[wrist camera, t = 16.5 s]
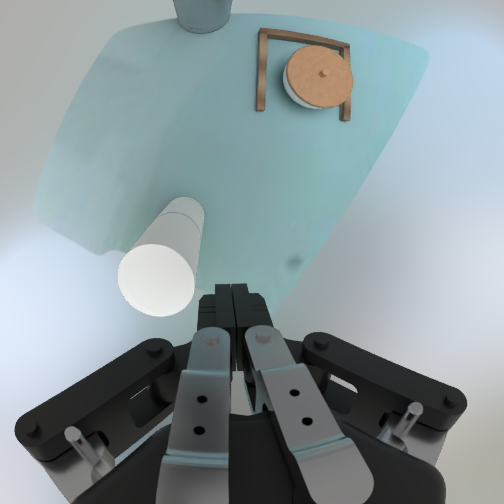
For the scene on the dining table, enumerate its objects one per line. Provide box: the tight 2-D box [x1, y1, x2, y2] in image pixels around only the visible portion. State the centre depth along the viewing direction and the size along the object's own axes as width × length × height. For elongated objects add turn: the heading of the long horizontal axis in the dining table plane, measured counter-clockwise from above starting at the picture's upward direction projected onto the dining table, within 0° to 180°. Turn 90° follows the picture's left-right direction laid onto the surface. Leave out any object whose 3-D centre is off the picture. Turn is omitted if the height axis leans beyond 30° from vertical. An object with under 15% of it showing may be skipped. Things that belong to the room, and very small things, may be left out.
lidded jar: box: [283, 45, 353, 109], centre depth 36 cm, size 11×11×9 cm
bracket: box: [256, 28, 351, 121], centre depth 39 cm, size 16×16×2 cm
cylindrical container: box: [118, 197, 205, 317], centre depth 35 cm, size 7×7×25 cm
